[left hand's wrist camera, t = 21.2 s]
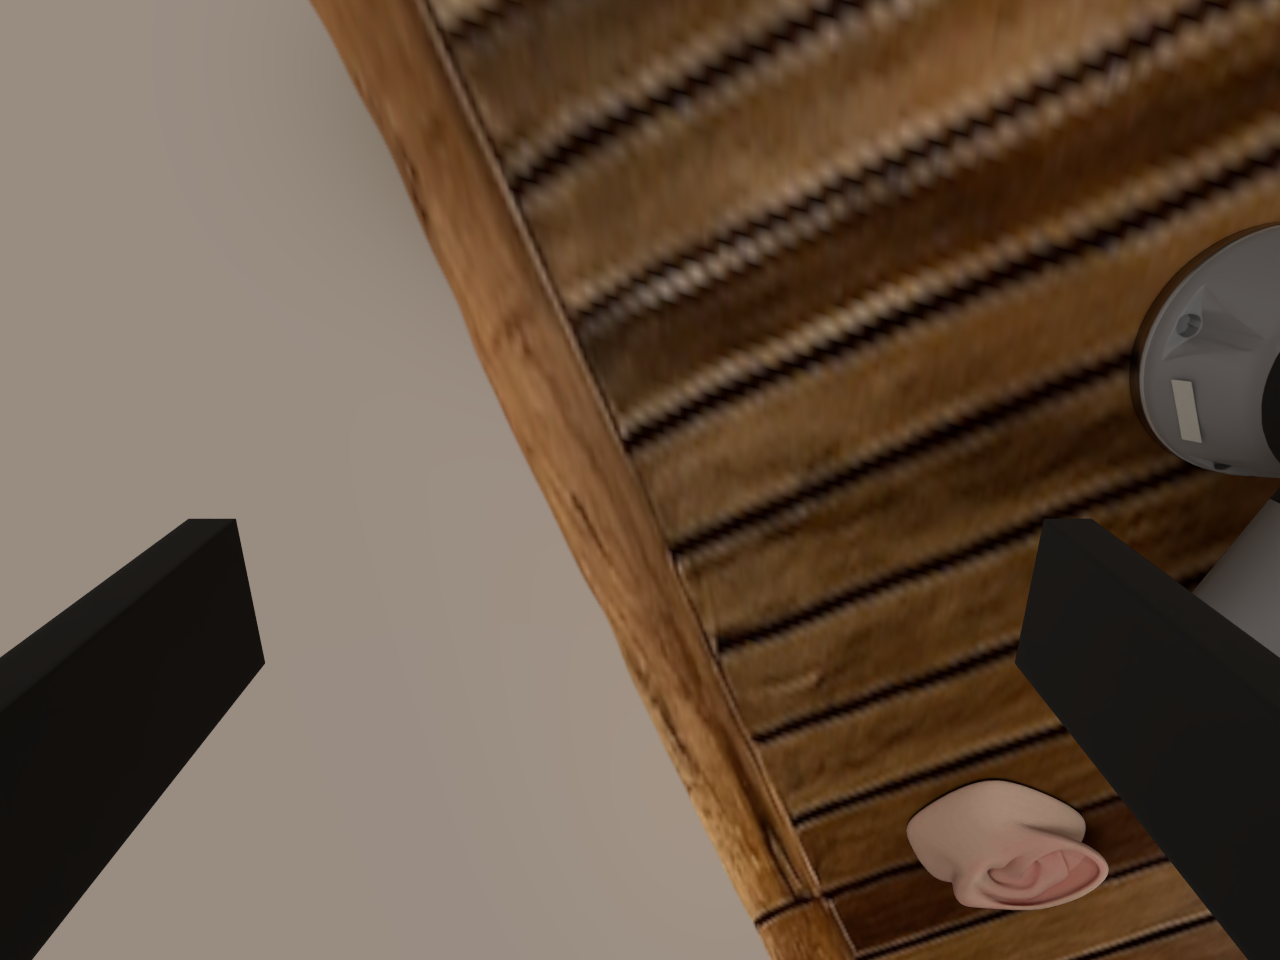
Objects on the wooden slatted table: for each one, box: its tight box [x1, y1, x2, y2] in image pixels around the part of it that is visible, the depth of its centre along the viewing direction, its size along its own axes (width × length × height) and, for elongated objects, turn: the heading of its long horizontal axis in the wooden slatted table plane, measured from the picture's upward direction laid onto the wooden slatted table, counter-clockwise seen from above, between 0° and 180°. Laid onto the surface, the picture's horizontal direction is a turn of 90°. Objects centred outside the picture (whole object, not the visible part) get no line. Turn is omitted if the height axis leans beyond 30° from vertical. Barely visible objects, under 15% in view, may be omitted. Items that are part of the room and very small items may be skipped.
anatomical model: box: [907, 780, 1108, 910], centre depth 60 cm, size 13×4×12 cm
